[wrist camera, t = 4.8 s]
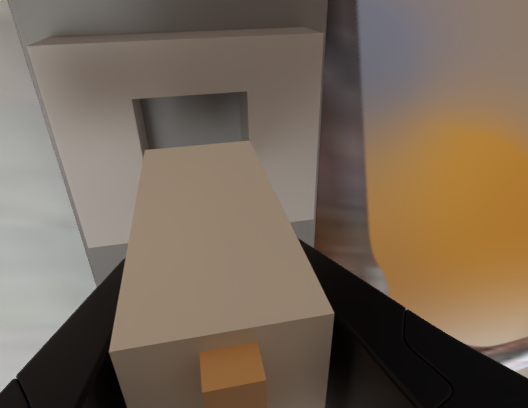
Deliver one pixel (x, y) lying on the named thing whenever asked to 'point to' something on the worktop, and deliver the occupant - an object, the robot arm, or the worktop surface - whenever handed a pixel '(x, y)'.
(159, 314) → the plug
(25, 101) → the worktop surface
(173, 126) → the jack panel
